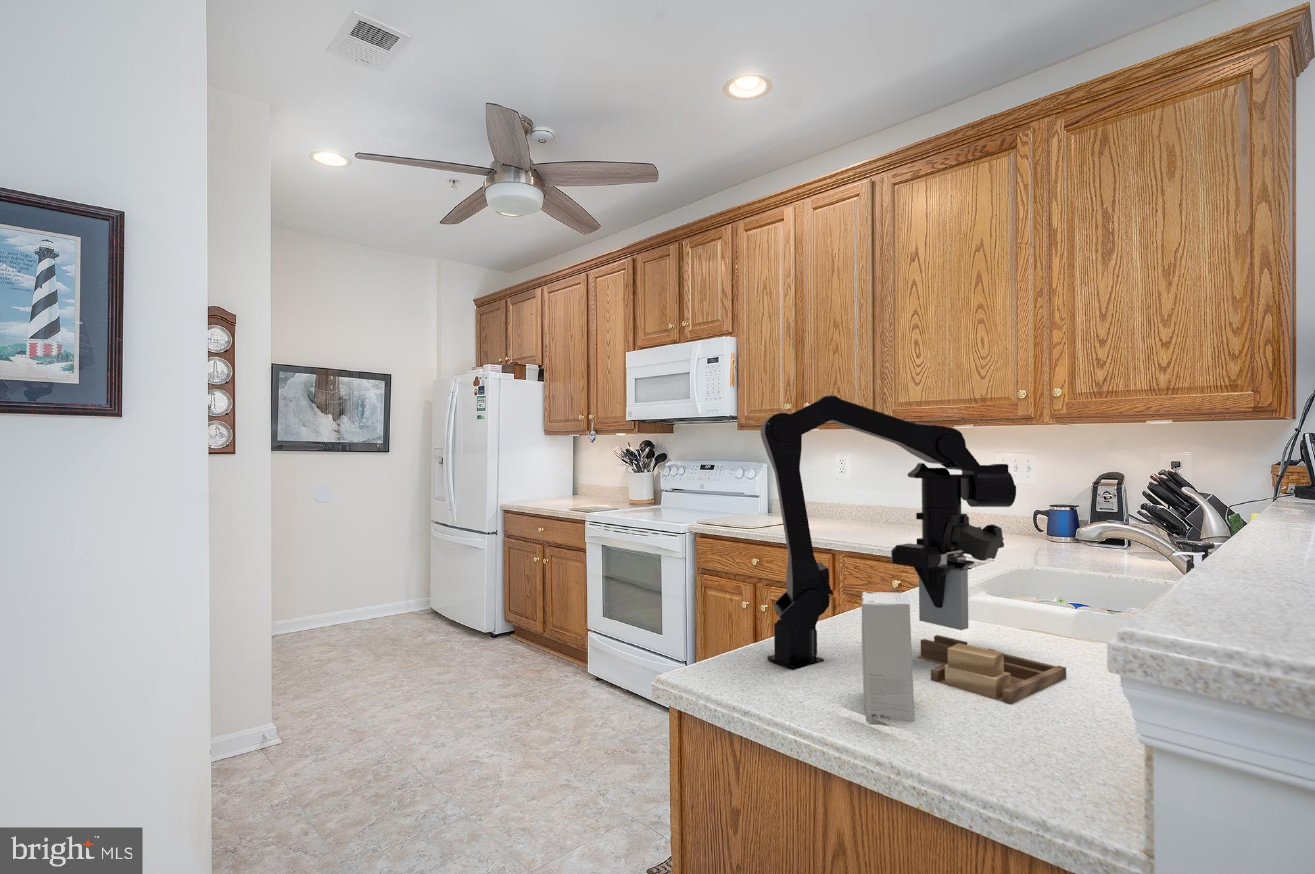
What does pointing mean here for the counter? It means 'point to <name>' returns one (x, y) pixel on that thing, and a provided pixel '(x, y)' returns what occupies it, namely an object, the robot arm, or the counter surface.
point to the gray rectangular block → (947, 602)
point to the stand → (937, 649)
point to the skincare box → (887, 657)
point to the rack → (1018, 677)
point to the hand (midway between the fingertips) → (942, 606)
